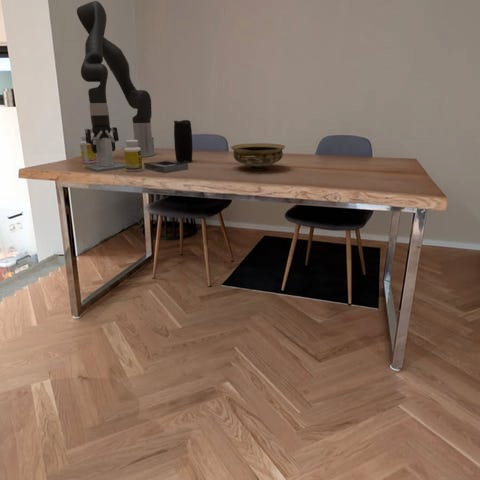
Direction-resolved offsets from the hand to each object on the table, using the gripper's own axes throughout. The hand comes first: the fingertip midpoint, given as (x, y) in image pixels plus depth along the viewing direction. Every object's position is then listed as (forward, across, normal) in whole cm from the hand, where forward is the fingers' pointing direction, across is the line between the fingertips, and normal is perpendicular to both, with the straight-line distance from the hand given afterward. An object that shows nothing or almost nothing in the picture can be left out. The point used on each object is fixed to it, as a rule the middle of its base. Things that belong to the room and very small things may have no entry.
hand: (104, 152), depth 176 cm
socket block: (+7, -18, +21) cm, 29 cm away
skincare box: (+6, 0, 0) cm, 6 cm away
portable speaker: (+7, -36, +11) cm, 38 cm away
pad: (+7, 0, 0) cm, 7 cm away
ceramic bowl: (+7, -47, +50) cm, 69 cm away
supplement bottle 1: (+7, -2, -20) cm, 21 cm away
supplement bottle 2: (+7, -6, +14) cm, 17 cm away
